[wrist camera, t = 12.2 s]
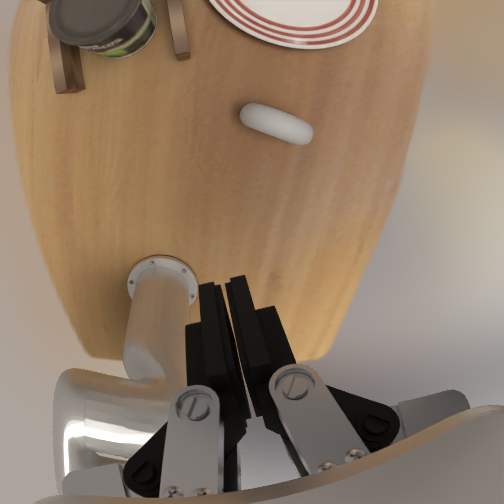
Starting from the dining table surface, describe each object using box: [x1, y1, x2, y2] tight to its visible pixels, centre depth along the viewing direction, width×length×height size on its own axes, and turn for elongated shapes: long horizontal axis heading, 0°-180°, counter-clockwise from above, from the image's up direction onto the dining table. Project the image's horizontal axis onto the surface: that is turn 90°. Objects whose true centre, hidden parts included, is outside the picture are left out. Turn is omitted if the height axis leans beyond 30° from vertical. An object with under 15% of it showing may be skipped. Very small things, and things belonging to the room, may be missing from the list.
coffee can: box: [49, 0, 157, 59], centre depth 23 cm, size 10×10×14 cm
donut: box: [240, 103, 313, 145], centre depth 36 cm, size 10×4×10 cm, turn 69°
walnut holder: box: [38, 0, 190, 94], centre depth 24 cm, size 16×17×11 cm
